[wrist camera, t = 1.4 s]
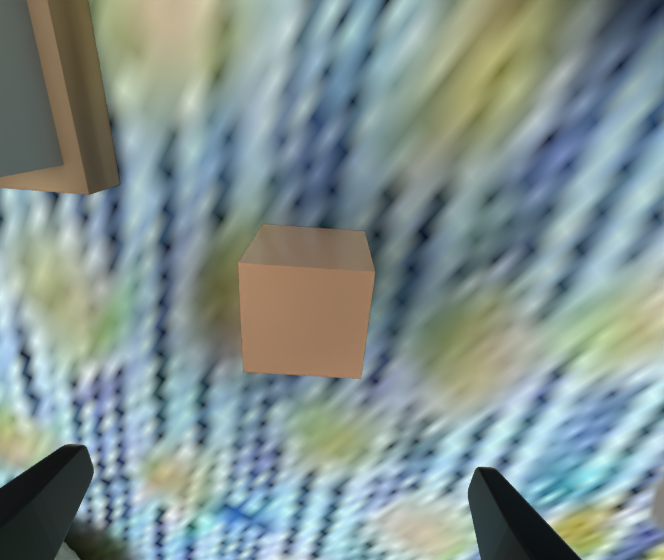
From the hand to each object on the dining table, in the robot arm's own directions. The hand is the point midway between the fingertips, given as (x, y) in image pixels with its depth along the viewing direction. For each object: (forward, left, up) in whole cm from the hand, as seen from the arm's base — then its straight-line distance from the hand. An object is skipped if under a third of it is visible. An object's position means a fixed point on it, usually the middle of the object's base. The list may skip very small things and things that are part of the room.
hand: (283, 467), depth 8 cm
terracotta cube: (0, 0, -11) cm, 11 cm away
